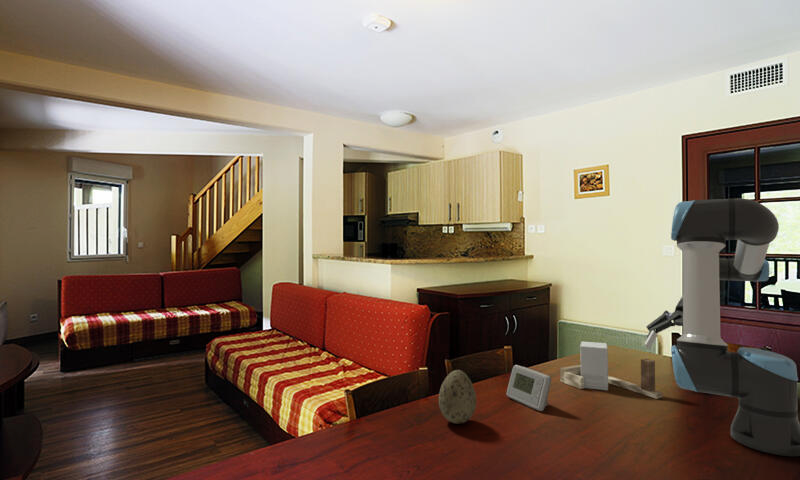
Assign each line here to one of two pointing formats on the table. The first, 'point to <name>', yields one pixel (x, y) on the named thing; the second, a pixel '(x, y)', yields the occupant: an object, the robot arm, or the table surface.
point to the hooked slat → (647, 387)
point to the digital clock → (529, 387)
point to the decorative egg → (457, 397)
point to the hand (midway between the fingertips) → (665, 350)
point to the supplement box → (594, 365)
